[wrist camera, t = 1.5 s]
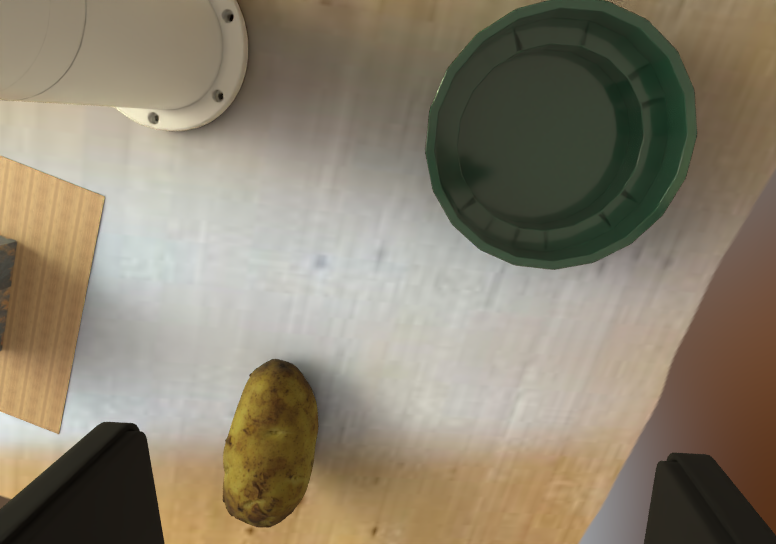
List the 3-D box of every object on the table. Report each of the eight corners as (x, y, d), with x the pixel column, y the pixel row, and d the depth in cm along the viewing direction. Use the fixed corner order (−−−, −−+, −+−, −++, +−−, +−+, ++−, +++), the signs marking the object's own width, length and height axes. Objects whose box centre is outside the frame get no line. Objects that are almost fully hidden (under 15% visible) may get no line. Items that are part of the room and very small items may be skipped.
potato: (355, 380, 44) (336, 434, 36) (304, 488, 48) (277, 557, 40) (268, 341, 44) (231, 387, 36) (224, 452, 48) (182, 515, 40)
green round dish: (395, 196, 39) (386, 208, 33) (489, -21, 34) (498, -50, 28) (583, 280, 39) (606, 306, 34) (702, 77, 34) (754, 67, 29)
